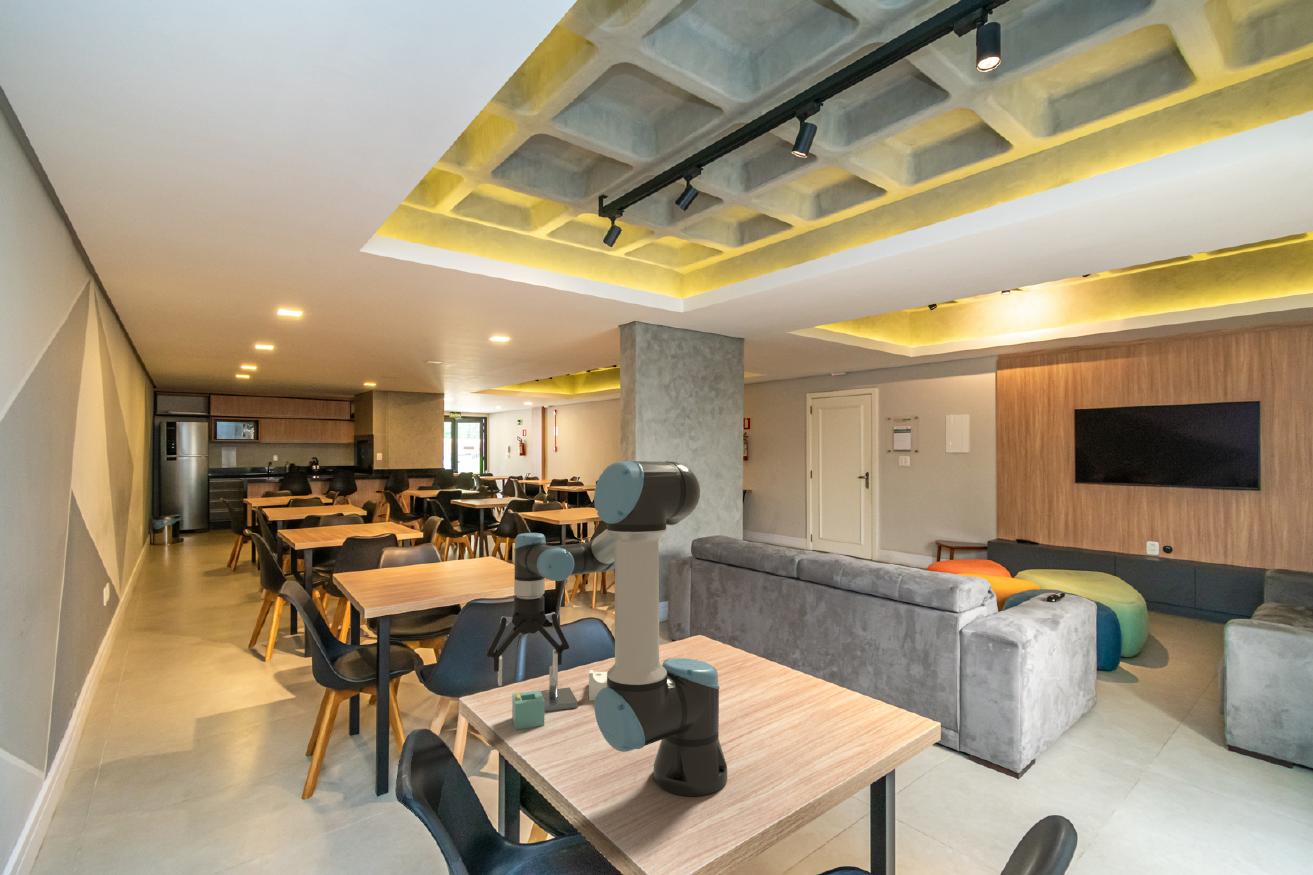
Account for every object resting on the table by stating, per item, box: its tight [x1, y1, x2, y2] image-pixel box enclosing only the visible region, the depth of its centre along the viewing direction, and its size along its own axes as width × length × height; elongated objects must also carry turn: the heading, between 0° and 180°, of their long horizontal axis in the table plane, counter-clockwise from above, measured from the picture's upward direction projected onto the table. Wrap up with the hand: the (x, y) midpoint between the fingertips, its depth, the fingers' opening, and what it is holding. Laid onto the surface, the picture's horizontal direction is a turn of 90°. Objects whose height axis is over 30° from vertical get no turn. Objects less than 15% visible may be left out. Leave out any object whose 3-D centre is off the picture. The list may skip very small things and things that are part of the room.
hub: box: [511, 690, 545, 730], centre depth 151 cm, size 7×7×7 cm
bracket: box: [588, 669, 608, 701], centre depth 172 cm, size 13×7×8 cm, turn 1°
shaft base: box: [540, 665, 579, 713], centre depth 163 cm, size 11×11×10 cm
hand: (527, 680), depth 152 cm, fingers open, 13 cm apart
